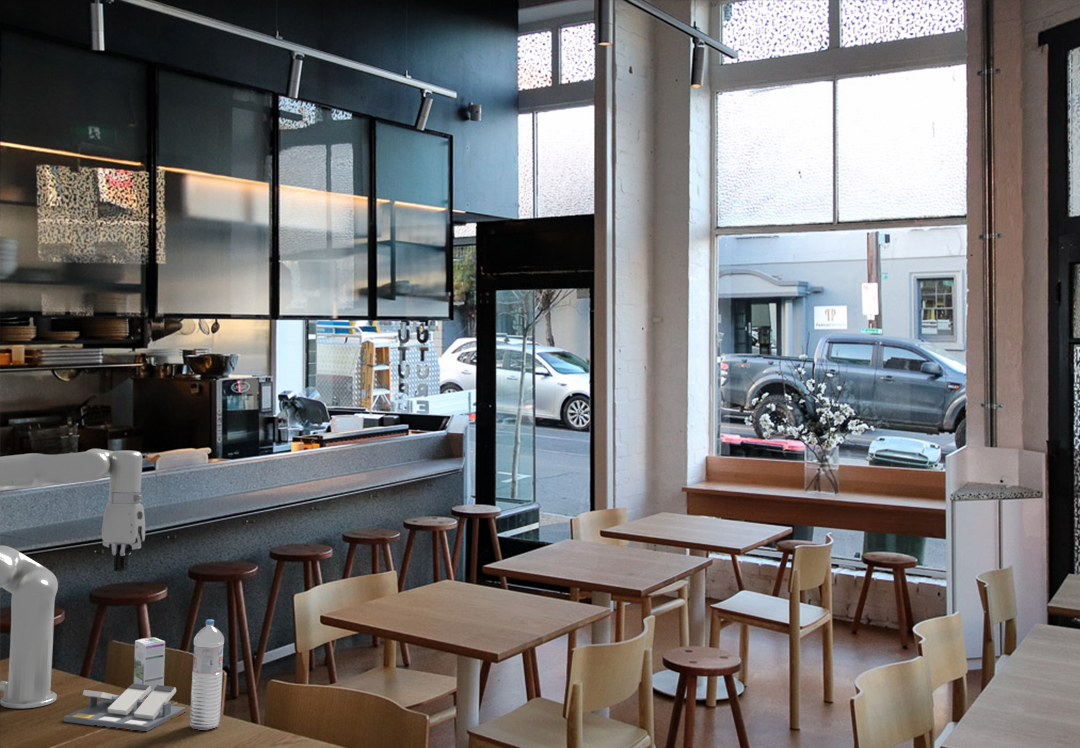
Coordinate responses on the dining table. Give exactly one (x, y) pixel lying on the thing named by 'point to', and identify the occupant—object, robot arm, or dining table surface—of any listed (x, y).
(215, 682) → the water bottle
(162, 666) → the syrup box
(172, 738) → the dining table surface
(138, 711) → the switch
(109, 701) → the console
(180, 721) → the dining table surface
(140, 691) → the switch mid
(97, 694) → the switch
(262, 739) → the dining table surface
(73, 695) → the dining table surface
